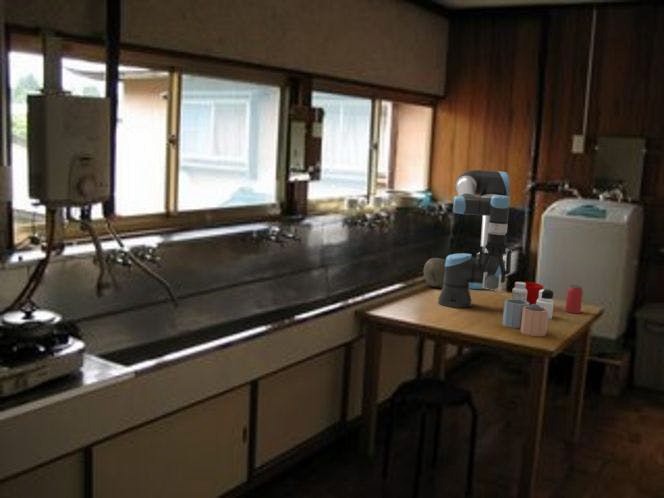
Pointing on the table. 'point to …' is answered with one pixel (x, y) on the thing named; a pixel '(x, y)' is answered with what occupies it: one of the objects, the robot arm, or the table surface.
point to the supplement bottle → (519, 291)
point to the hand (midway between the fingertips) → (491, 288)
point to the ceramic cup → (533, 292)
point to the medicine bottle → (546, 301)
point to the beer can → (574, 299)
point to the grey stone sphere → (435, 272)
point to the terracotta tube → (534, 322)
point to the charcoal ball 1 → (492, 282)
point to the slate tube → (513, 312)
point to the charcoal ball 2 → (534, 307)
